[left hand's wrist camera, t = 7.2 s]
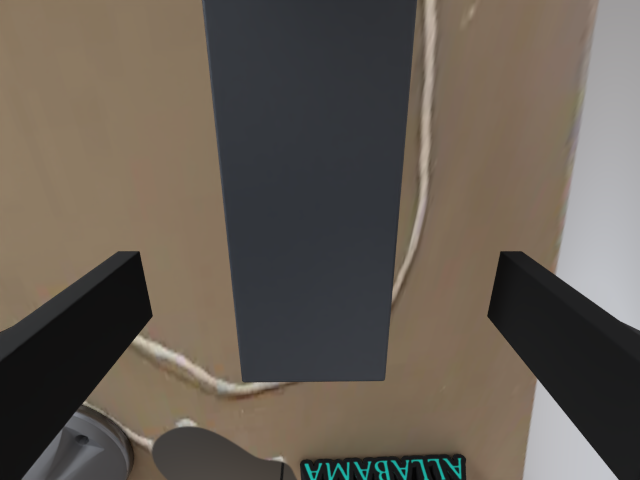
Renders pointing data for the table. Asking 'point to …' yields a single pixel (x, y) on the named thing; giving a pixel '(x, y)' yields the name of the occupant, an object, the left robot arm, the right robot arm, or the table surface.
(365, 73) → the bar
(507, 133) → the table surface
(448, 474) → the decorative sign
